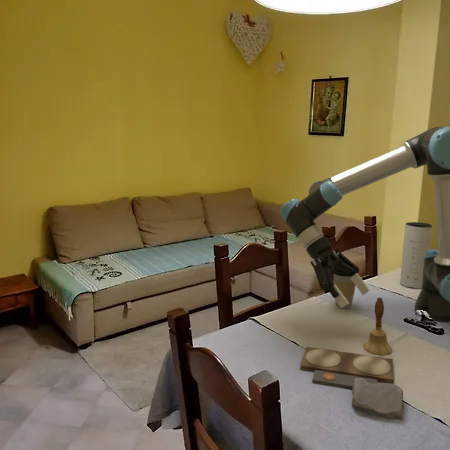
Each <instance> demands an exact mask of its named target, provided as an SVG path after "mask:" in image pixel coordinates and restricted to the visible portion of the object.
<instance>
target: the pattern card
mask: <svg viewBox="0 0 450 450" xmlns="http://www.w3.org/2000/svg"><path fill="white" fill-rule="evenodd" d="M357 380H363V381H365V382H367V383H372V384H378V381H377V379H370V378H364V377H358V376H351V375H345V374H339V373H332V372H326V371H319V370H315V371H313V376H312V379H311V382H312V383H315V384H321V385H326V386H332V387H337V388H344V389H348V390H349V389H350V390H352V389H353V384H354V383H355V382H356V381H357Z"/></svg>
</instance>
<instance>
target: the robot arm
mask: <svg viewBox="0 0 450 450" xmlns="http://www.w3.org/2000/svg"><path fill="white" fill-rule="evenodd" d="M423 166H426V171H427V172H426V173H427V175H428V177H430V178H431V179H432V180H433V191H434V206H435V220H436V235H437V248H431V249H428V250H426V252H425V256H424V266H423V278H422V289H420V292H419V295H418V296H417V298H416V300H415V302H414V309H413V310H414V312H415V311H416V310H423V311H426V312H427V313H428V314H429V315H430V316H431V318H432V319H433V320H432V321H435V322H436V321H437V322H448V323H449V322H450V126H435V127H432V128H429V129H426V130H425V131H423V132H421V133H419V134H417V135H416V136H414V137H412V138H409V139H408V140H405V141H403V142H402V145H401V146H400V147H396V148H395V149H392V150H389V151H388V152H384V153H383V154H381V155H378V156H375V157H374V158H371V159H369V160H366V161H365V162H362V163H360V164H358V165H356V166H353V167H351V168H349V169H346V170H344V171H341V172H339V173H337V174H333V175H332V176H330V177H328V178H325V179H323V180H318V181H314V182H313V183H312V184H311V186H310V187H309V189H308V195H307V196H306V197H305V198H303V199H301V200H299V199H298V198H292V199H290V200H289V201H286V202H285V203H284V204H283V205H282V206H281V207H280V209H279V213H280V216H281V217H282V219H283V220H284V222H285V224H286V225H287V227H288V228H289V229H290V231H291V232H292V233H293V234H294V236H295V237H296V239H297V240H298V241H299V243H300V245H302V247H303V248H304V249H305V251H306V253H307V254H308V255H309V257H310V258H311V259H312V260H311V261H310V264H311V266H312V268H313V270H314V273H315V276H316V278H317V282H318V285H319V287H320V290H322V291H324V292H327V291H328V292H329V294H330V295H331V296H332V298H333V299H334V301H335V300H336V301H337V303H338V304H339V305H340V307H341V308H340V309H342V308H343V307H344V306H346V305H347V304H349V302H348V301H347V300H346V298H345V297H344V295H343V294H342V293H341V291H340V290H339V289H338V287H337V286H336V284H335V285H334V281H333V276H332V274H333V273H332V269H333V268H338V269H340V270H341V271H343V272H345V273H346V274H348V275H350V276H351V280H352V281H353V283H354V284H355V285H356V286H355V288H357V290H358V291H359V292H360V294H361V295H362V296H364V295H365V294H368V293H369V292H370V291H371V289H370V288H369V287H368V286H367V283H365V282H364V280H363V278H362V277H361V276H360V275H359V274H358V273H360V268H359V267H358V265H356V264H355V263H354V262H352V260H350V259H348V257H346V256H345V255H344V254H343V253H342V252H341V251H340V250H339V249H338V248H335V249H334V250H333V251H332V249H331V247H332V243H331V242H330V241H329V239H328V238H327V236H324V235H325V234H324V233H323V231H322V230H321V229H320V227H319V226H318V225H317V223H316V222H315V220H317V219H318V218H319V217H321V216H322V215H323V214H324V213H326V212H327V211H329V210H331V208H333V207H334V206H336V205H337V204H338V203H339V202H340V201H342V200H343V197H344V196H345V195H347V194H348V195H349V193H352V192H355V191H357V190H360V189H362V188H364V187H367V186H369V185H371V184H374V183H377V182H378V181H381V180H383V179H385V178H388V177H390V176H393V175H396V174H398V173H400V172H402V171H405V170H408V169H410V168H413V169H418V168H421V167H423ZM331 268H332V269H331Z"/></svg>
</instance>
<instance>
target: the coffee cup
mask: <svg viewBox="0 0 450 450" xmlns="http://www.w3.org/2000/svg"><path fill="white" fill-rule="evenodd" d="M359 273H360V272H358V275H359ZM331 274H333V277H332V280H333V286H334V285H335V284H336V286H337V287H338V289H339V290H340V291H341V293H342V294H343V295H344V297H345V298H346V300H347V301H348V302H349V304H347V305H346V306H344V307H343V308H341V307H340V305H339V304H338V303H337V301H336V300H335V299H334V304H335V307H336V308H338V309H343V310H347V309H348V310H349V309H350V308H352V307H353V301H354V295H355V290H356V285H355V284H354V283H353V281H352V280H351V276H350V275H348V274H346V273H345V272H343V271H341V270H340V269H338V268H334V267H332V269H331Z"/></svg>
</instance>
